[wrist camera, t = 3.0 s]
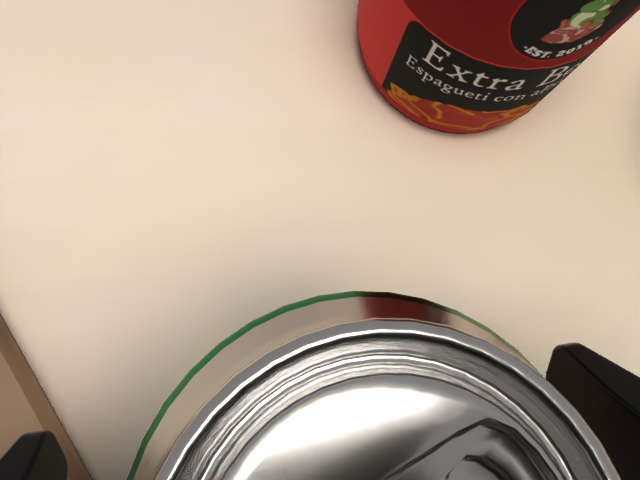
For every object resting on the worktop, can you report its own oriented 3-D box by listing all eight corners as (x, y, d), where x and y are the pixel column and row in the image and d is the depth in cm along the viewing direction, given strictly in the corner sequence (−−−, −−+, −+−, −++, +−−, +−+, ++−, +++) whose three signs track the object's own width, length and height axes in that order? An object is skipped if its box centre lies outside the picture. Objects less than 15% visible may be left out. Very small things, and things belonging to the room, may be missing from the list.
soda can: (408, 462, 16) (814, 777, 4) (253, 534, 15) (196, 1196, 3) (347, 309, 17) (533, 200, 5) (196, 368, 16) (-13, 408, 4)
